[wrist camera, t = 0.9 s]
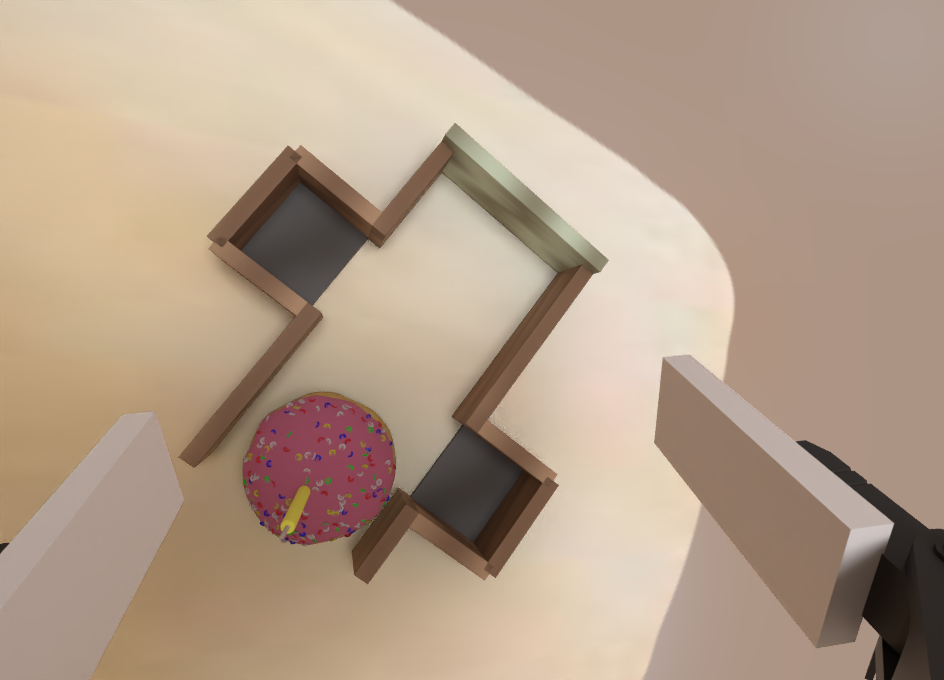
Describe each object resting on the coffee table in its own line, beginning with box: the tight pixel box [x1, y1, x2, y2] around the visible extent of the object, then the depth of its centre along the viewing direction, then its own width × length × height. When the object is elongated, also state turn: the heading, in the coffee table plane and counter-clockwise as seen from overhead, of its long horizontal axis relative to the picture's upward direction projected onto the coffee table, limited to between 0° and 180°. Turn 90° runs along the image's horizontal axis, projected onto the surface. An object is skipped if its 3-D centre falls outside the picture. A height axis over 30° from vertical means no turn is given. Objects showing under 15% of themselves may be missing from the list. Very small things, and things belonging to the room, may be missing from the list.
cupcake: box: [243, 392, 396, 546], centre depth 30 cm, size 9×8×12 cm
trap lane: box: [179, 123, 609, 584], centre depth 35 cm, size 26×25×5 cm
